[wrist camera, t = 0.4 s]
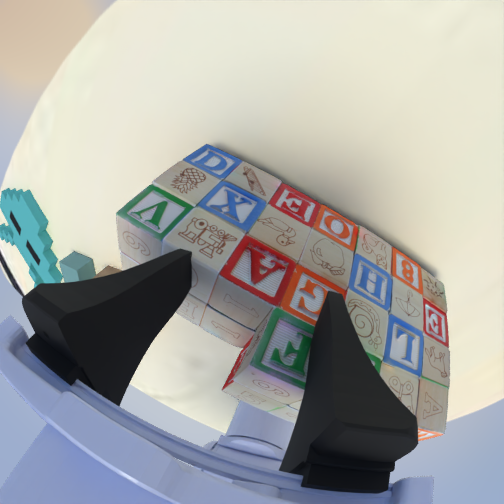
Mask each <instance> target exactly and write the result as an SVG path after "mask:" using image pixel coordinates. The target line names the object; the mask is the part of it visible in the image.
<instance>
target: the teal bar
mask: <svg viewBox="0 0 504 504" xmlns="http://www.w3.org/2000/svg"><path fill="white" fill-rule="evenodd" d="M59 263H60V267H61V271H62V274H63V278H64V281H65V283H66V282H75V281H83V280H88V279H92V278H93V277H94V276H96V274H95V269H94V265H93V260H92V259H91V258H88V257H86V256H84V255H81V254H79V253H77V252H73V253H71V254H70V255H68V256H67V257H65V258H64V259H62V260H61V261H60V262H59Z"/></svg>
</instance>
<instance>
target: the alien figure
mask: <svg viewBox="0 0 504 504" xmlns="http://www.w3.org/2000/svg"><path fill="white" fill-rule="evenodd" d="M0 208H1V210H2V212H3V214H4V216H5V218H6V220H7V222H8V224H9V225H8V226H7V227H6V226H5V224H2V225H0V238H1V240H4V239H5V241H6V243H8V242H9V241H10V243H11V245H12V246H13V245H14V244H15V245H16V246H17V248H18V250H19V251H20V253H21V255H22V256H23V258H24V260H25V261H26V263H27V264H28V266H29V267H30V269H29V274H30V276H31V277H32V279H33V280H34V282H35V284H34V288H35V287H36V286H37V285H39V284H40V283H60V282H61V280H62V277H63V276H62V274H61V273H60V271H59V270H58V269H57V267H56V266H55V265H56V263H57V260H58V259H57V257H56V256H55V254H54V253H53V251H52V250H51V249H50V248H51V245H52V242H53V240H52V239H51V237H50V236H49V234H48V233H47V231H46V228H47V224H48V220H47V219H46V217H45V215H44V214H43V212H42V210H41V209H40V207H39V205H38V204H37V202H36V200H35V199H34V197H33V195H32V193H31V192H30V190H27V191H25V192H23V190H22V189H21V190H18V191H16V189H13V190H10V189H9V188H8V189H6V190H4V191H2V193H1V201H0Z"/></svg>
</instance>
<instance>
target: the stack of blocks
mask: <svg viewBox="0 0 504 504" xmlns="http://www.w3.org/2000/svg"><path fill="white" fill-rule="evenodd" d="M116 222H117V233H118V244H119V249H120V251H121V253H120V254H121V262H122V270H126V269H129V268H132V267H134V266H137V265H140V264H142V263H145V262H147V261H150V260H152V259H155V258H157V257H159V256H162V255H164V254H167V253H169V252H172V251H174V250H177V249H180V248H181V249H184V250H188V251H191V252H192V257H191V263H192V287H191V289H190V291H189V293H188V294H187V296H186V298H185V299H184V301H183V303H182V304H181V306H180V307H179V308H178V309H177V311H176V313H177V314H179V315H181V316H182V317H184V318H185V319H187V320H189V321H190V322H192V323H194V324H196V325H198V326H200V327H201V328H203V329H204V330H205V331H207V332H209V333H211V334H213V335H214V336H216V337H218V338H220V339H222V340H224V341H226V342H228V343H229V344H231V345H233V346H236V347H240V348H244V349H243V350H242V351H241V352H240V354H239V356H238V358H237V360H236V362H235V365H234V367H233V368H232V370H231V373H230V374H229V376H228V378H227V380H226V382H225V384H224V386H223V388H222V391H223V392H225V393H227V394H229V395H231V396H233V397H235V398H237V399H239V400H241V401H243V402H246V403H248V404H250V405H252V406H254V407H257V408H259V409H261V410H264V411H267V412H268V413H270V414H272V415H275V416H277V417H279V418H282V419H284V420H287V421H290V422H292V423H296V420H297V416H298V413H299V409H300V406H301V402H302V399H303V395H304V390H305V384H306V377H307V370H308V362H309V354H310V346H311V341H312V337H313V333H314V328H315V324H316V322H317V319H318V317H319V314H320V311H321V309H322V306H323V304H324V301H325V298H326V296H327V293H328V290H329V291H332V292H336V293H340V294H342V295H343V297H344V300H345V303H346V306H347V309H348V312H349V314H350V317H351V320H352V322H353V325H354V327H355V330H356V332H357V334H358V337H359V339H360V341H361V343H362V345H363V347H364V349H365V351H366V353H367V355H368V357H369V358H370V360H371V362H372V364H373V365H374V367H375V368H376V370H377V371H378V373H379V374H380V376H381V377H382V379H383V380H384V381H385V383H386V384H387V385H388V387H389V388H390V389H391V391H392V392H393V393H394V394H395V395H396V396H397V398H398V399H399V400H400V401H401V402H402V403H403V404H404V405H405V406H406V407H407V408H408V409H409V410H410V411H411V412H412V413H413V414H414V415H415V416H416V417H417V423H418V441H421V440H425V439H429V438H433V437H437V436H441V435H443V434H445V429H446V419H447V408H448V390H449V384H450V379H449V376H450V351H449V350H448V348H449V337H448V324H447V315H446V313H447V304H446V296H445V290H444V285H443V283H441V282H440V281H439V280H437V279H436V278H435V277H433V276H432V275H431V274H429V273H428V272H427V271H425V270H424V269H422V268H421V267H420V265H419V264H417V263H416V262H415V261H413V260H412V259H410V258H409V257H407V256H406V255H405V254H403V253H402V252H400V251H399V250H397V249H396V248H394V247H392V246H391V245H390V244H388V243H387V242H386V241H384V240H383V239H381V238H380V237H378V236H377V235H375V234H374V233H372V232H370V231H369V230H367V229H366V228H364V227H362V226H360V225H356V224H355V223H353V222H352V221H350V220H348V219H347V218H345V217H343V216H342V215H340V214H339V213H337V212H335V211H333V210H332V209H330V208H328V207H327V206H325V205H323V204H319V203H318V202H317V201H315V200H313V199H311V198H310V197H308V196H307V195H305V194H303V193H301V192H299V191H297V190H295V189H294V188H292V187H290V186H288V185H286V184H283V183H282V181H281V180H280V179H278V178H276V177H274V176H272V175H270V174H268V173H266V172H264V171H262V170H260V169H259V168H257V167H255V166H253V165H251V164H249V163H247V162H244V161H242V160H240V159H238V158H236V157H234V156H232V155H230V154H228V153H226V152H223V151H221V150H219V149H217V148H215V147H213V146H211V145H208V144H206V145H204V146H203V147H201V148H200V149H198V150H196V151H195V152H193V153H192V154H190V155H189V156H187V157H186V158H184V159H183V160H182V161H180V162H178V163H177V164H175V165H174V166H172V167H171V168H169V169H168V170H167V171H165V172H164V173H163V174H161V175H160V176H159V177H157V178H156V179H155V180H154V181H153V182H152V185H149V186H148V187H147V188H145V189H144V190H143V191H141V192H140V193H139V194H138V195H137V196H135V197H134V198H133V199H132V200H131V201H129V202H128V203H127V204H126V205H125V206H124V207H122V208H121V209H120V210H119V211H118V212H117V213H116Z"/></svg>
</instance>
